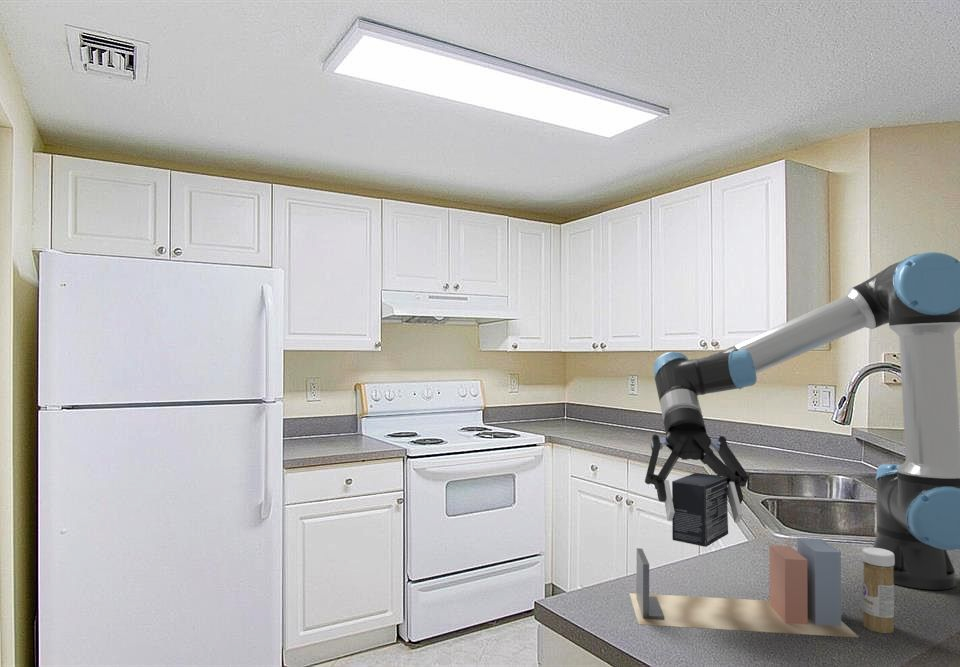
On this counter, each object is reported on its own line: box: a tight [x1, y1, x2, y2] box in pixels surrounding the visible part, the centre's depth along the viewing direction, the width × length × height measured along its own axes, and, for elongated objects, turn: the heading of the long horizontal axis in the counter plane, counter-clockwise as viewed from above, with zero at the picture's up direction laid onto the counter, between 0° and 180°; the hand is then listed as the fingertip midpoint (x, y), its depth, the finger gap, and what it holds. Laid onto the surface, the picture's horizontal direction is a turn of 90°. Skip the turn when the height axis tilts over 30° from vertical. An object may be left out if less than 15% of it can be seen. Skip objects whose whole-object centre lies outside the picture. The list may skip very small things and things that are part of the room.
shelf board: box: [628, 592, 859, 638], centre depth 111 cm, size 34×14×1 cm, turn 83°
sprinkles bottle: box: [861, 546, 895, 634], centre depth 106 cm, size 5×5×13 cm
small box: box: [671, 472, 729, 548], centre depth 115 cm, size 11×6×10 cm, turn 139°
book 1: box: [768, 544, 808, 624], centre depth 111 cm, size 4×8×10 cm, turn 173°
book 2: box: [796, 537, 842, 626], centre depth 111 cm, size 4×8×12 cm, turn 173°
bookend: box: [636, 548, 664, 620], centre depth 113 cm, size 4×9×9 cm, turn 173°
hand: (704, 517), depth 112 cm, fingers closed on small box, 11 cm apart
